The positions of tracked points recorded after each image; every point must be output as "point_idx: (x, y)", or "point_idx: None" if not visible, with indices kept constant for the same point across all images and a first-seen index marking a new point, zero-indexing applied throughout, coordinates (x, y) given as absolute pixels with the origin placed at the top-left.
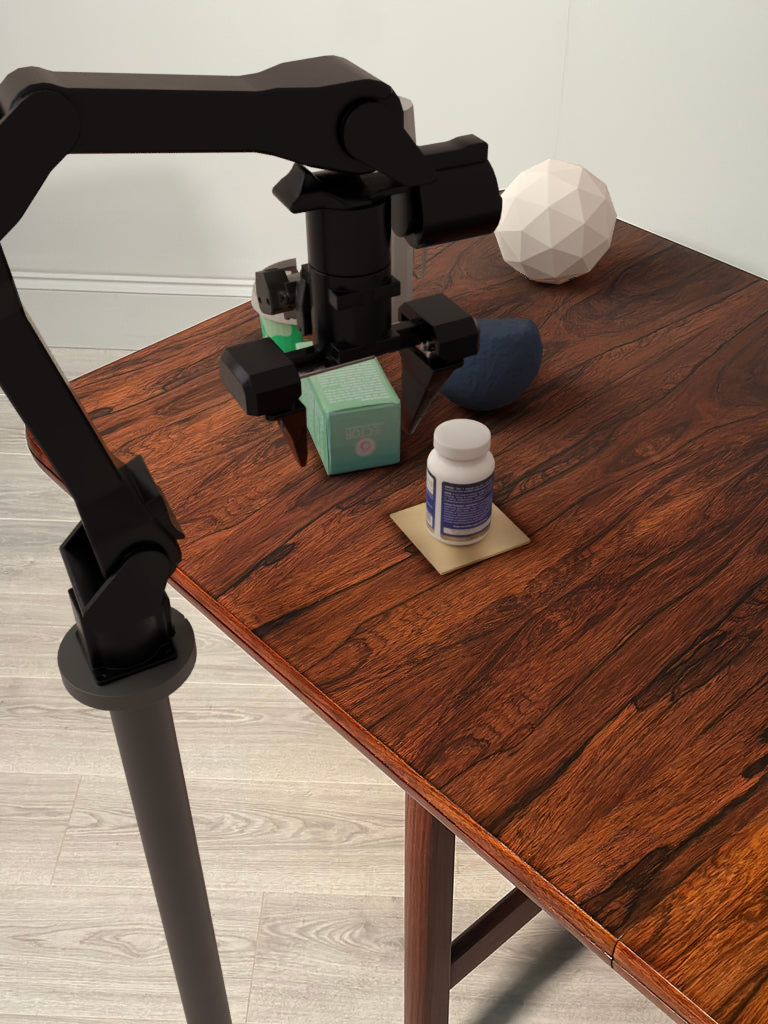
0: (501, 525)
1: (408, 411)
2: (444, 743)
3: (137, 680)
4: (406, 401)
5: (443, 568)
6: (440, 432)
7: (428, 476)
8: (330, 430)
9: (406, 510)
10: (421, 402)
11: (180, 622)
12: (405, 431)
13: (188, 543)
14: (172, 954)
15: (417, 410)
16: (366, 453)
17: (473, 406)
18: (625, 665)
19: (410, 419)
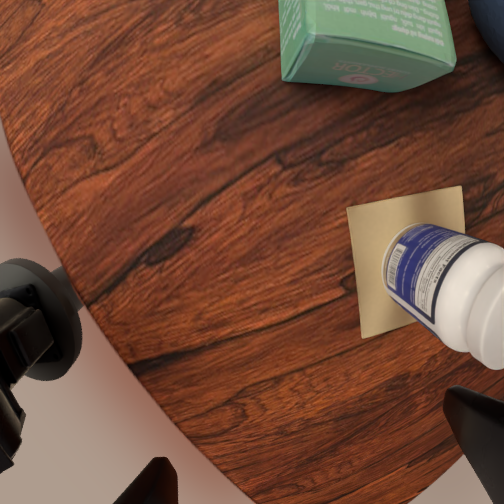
0: None
1: (475, 445)
2: (274, 486)
3: (37, 368)
4: (492, 445)
5: (368, 332)
6: (497, 312)
7: (428, 297)
8: (307, 56)
9: (371, 207)
10: (492, 498)
11: (59, 314)
12: (445, 402)
13: (59, 192)
14: None
15: (479, 478)
16: (354, 82)
17: (500, 59)
18: (427, 439)
19: (463, 447)
